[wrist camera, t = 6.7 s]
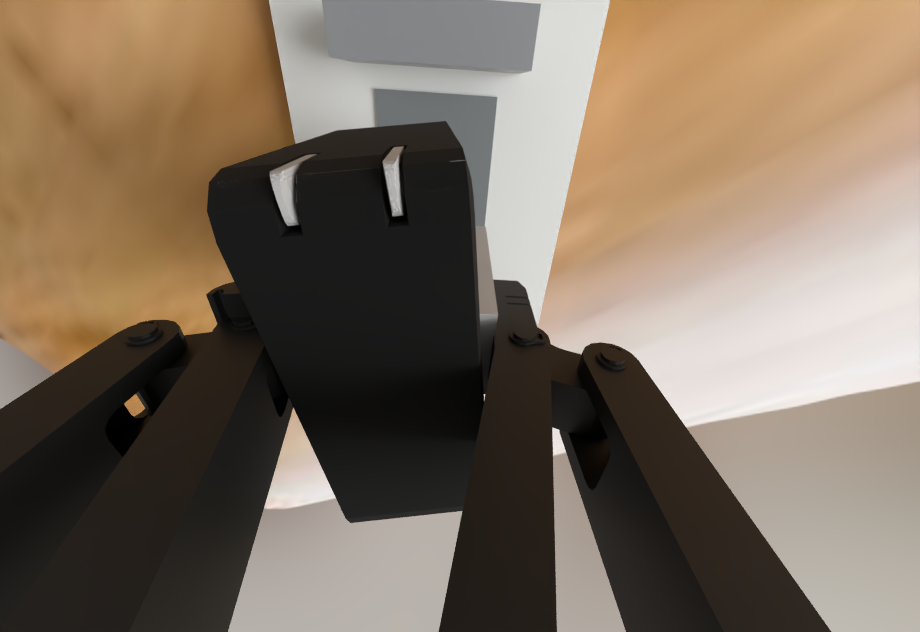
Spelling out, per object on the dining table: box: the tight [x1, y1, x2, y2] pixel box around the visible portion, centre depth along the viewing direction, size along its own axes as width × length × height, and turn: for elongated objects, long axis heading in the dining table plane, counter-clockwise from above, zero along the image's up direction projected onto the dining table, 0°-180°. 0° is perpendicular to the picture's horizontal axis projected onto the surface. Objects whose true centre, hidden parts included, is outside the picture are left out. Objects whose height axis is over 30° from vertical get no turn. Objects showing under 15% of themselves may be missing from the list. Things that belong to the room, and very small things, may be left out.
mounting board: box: [269, 0, 610, 327], centre depth 19 cm, size 20×15×5 cm
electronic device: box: [207, 121, 484, 523], centre depth 12 cm, size 4×10×10 cm, turn 4°
